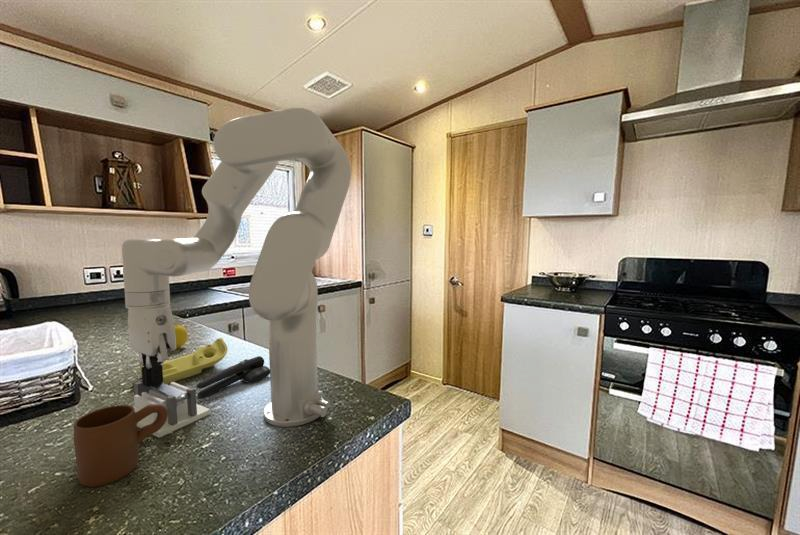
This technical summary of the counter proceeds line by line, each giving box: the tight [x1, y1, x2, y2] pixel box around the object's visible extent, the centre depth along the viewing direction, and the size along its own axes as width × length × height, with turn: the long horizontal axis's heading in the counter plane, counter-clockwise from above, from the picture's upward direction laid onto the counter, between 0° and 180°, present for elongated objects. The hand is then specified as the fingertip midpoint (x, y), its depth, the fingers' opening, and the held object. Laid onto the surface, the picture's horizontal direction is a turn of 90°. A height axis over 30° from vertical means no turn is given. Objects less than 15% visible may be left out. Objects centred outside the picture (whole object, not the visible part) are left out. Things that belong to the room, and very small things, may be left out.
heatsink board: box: [132, 379, 211, 439], centre depth 73 cm, size 15×10×6 cm, turn 60°
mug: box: [73, 404, 168, 488], centre depth 57 cm, size 12×8×9 cm, turn 133°
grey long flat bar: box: [150, 383, 190, 403], centre depth 72 cm, size 14×3×1 cm, turn 60°
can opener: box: [196, 356, 270, 398], centre depth 88 cm, size 18×7×6 cm, turn 142°
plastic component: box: [139, 337, 229, 385], centre depth 96 cm, size 20×7×10 cm
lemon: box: [174, 324, 189, 349], centre depth 116 cm, size 6×6×8 cm
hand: (153, 383), depth 74 cm, fingers closed
